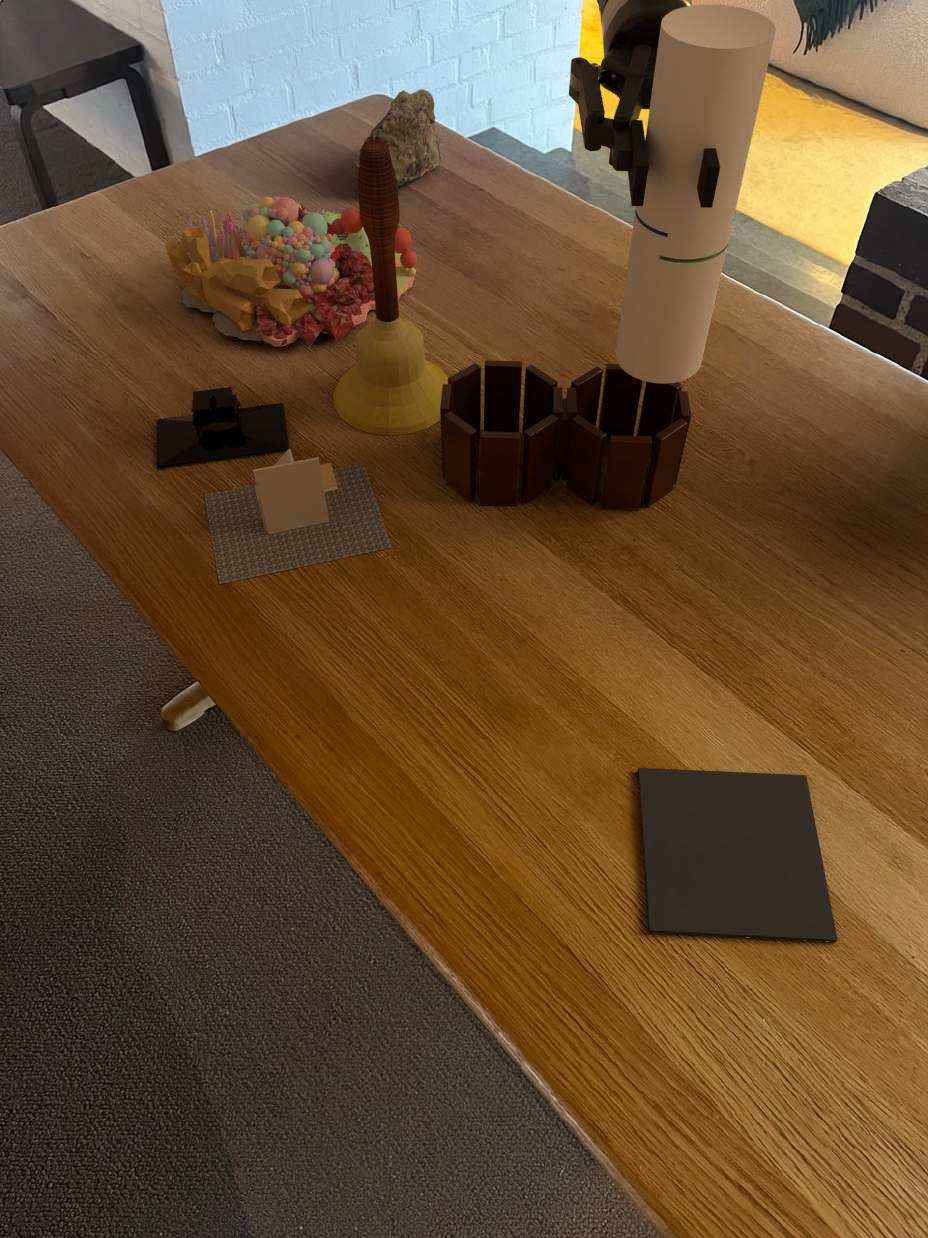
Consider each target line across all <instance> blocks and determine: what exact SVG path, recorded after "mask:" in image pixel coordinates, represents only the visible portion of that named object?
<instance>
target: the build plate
mask: <svg viewBox="0 0 928 1238" xmlns="http://www.w3.org/2000/svg"><path fill="white" fill-rule="evenodd" d="M241 405H242V404H241V401H240V400H238V396H237V394H234V392H233V387H232V386H227V387H217V388H209V389H203V390H195V391H192V400H191V407H190V410H191V414H185V415H177V416H170V417H162V418H157V419H156V467H157V469H158V470H161V469H162V470H163V469H169V468H177V467H183V466H190V465H191V466H192V465H196V464H197V465H198V464H207V463H212V462H220V461H226V460H234V459H235V460H236V459H241V458H249V457H255V456H263V455H271V454H279V453H285V452H286V451H287V450H288V449H290V443H289V435H288V428H287V421H286V420H287V419H286V414H285V413H286V412H285V405H284V403H283V402H278V403H269V404H268V403H267V404H261V405H255V406H246V407H241Z"/></svg>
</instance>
